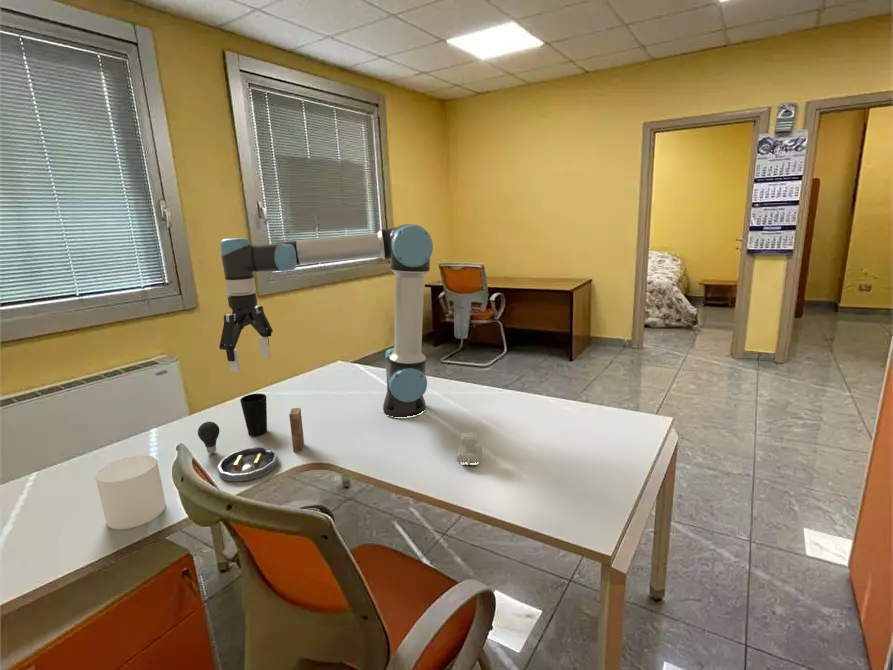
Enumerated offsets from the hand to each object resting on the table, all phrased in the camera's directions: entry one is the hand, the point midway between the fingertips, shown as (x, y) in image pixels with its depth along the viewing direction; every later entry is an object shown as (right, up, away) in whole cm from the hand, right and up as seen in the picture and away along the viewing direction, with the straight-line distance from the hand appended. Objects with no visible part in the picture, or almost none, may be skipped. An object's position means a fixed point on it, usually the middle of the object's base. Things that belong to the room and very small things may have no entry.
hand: (251, 364), depth 135 cm
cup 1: (-15, -34, -28) cm, 46 cm away
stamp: (+65, -27, -8) cm, 71 cm away
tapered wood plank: (+14, -25, +1) cm, 29 cm away
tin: (+3, -28, -9) cm, 30 cm away
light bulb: (-11, -27, -1) cm, 29 cm away
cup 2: (-3, -23, +12) cm, 26 cm away
